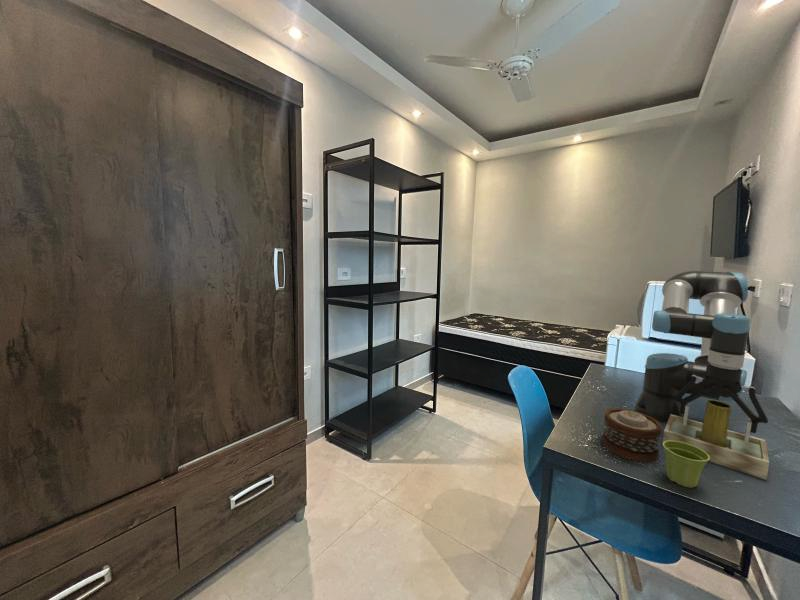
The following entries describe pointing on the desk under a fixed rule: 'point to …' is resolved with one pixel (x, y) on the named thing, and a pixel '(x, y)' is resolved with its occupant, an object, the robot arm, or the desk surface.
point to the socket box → (733, 456)
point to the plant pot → (684, 462)
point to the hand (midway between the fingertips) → (713, 432)
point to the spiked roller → (632, 434)
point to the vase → (716, 423)
